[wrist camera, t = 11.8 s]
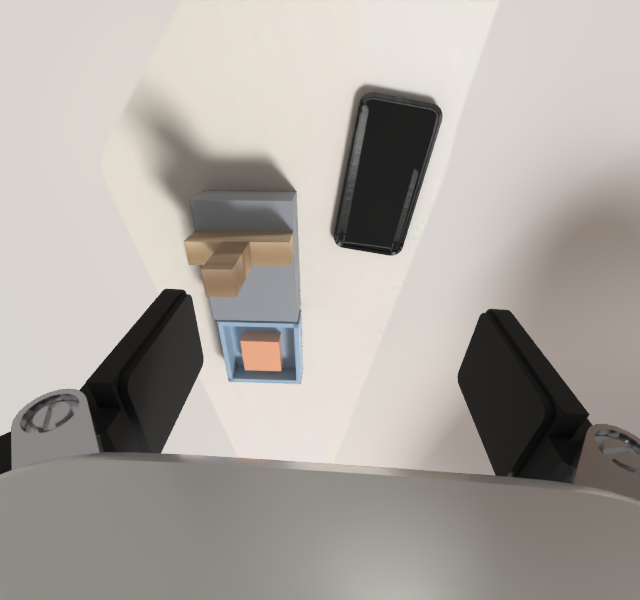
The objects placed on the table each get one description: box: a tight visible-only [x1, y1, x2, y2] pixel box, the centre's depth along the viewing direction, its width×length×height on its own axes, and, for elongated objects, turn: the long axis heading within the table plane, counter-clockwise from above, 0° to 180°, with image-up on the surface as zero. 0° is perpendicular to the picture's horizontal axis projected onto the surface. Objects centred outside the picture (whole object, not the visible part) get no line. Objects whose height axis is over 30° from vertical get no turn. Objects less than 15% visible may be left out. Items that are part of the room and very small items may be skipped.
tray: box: [217, 311, 303, 384], centre depth 44 cm, size 10×10×3 cm
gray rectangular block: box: [189, 191, 301, 322], centre depth 37 cm, size 14×10×4 cm
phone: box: [334, 93, 442, 255], centre depth 34 cm, size 8×1×15 cm
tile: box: [240, 332, 283, 371], centre depth 45 cm, size 5×5×2 cm
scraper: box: [184, 231, 295, 297], centre depth 30 cm, size 2×10×9 cm, turn 91°
